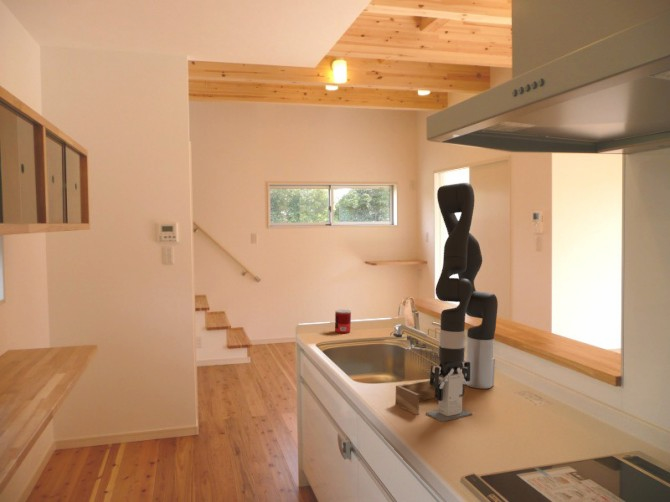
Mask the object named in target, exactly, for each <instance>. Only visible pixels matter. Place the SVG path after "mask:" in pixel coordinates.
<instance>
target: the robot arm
mask: <svg viewBox="0 0 670 502" xmlns="http://www.w3.org/2000/svg"><path fill="white" fill-rule="evenodd" d="M436 196H437V198H436V199H437V204H438V207H439V210H440V214H441V216H442V219H443V223H444V225H445V228H446V229H445V230H446V231H447V235H448V237H447V238H446V240H445V243H444V246H443V261H442V262H443V263H442V269H441V273H440V276H439V278H438V281H437V283H436V287H435V295H436V298H437V299H438V300H439V301H441V302H452V303H457V302H458V305H457V306H456V307H452V308H446V309H443V310H441V313H440V330H439V337H438V360H439V365H434V364H433V365H431V366H430V375H429V380H430V385H431V386H434V387H435V400H437V401H438V402H439V401H442V400H443V389H442V388H443V386H444V384H445V383H446V382H447V381H448V379H449V376H451V375H453V374H463V390H462V397H464V394H465V387H466V386H468V387H470V388H474V389H481V390H482V389H490V388H492V387H493V386H494V385H495V368H496V367H495V366H496V359H495V358H494V351H495V350H494V348H495V347H494V345H495V343H494V342H495V334H496V328H497V315H498V305H499V303H498V297H497V296H496V295H495V294H494V293H493V292H492V293H490V292H484V291H477V290H476V288H475V287H476V286H475V280H476V277H477V275H478V273H479V272H480V270H481V267H482V264H483V255H482V251H481V247H480V243H479V241H478V240H477V238H476V237H475V236H474V235H473V234H472V233H471V232H470V231H471V226H472V220H473V214H474V209H475V192H474V188H473V186H472V184H470V183H469V182H460V183H453V184H446V185H441V186H440V187H438V189H437V193H436ZM457 213H460V216H459V220H458V218H457V215H456V214H457ZM453 275H458V276H457V277H451V276H453ZM466 315H467V316H469V317H471V318H475V319H477V318H478V319H481V322H480V323H481V324H478V325H476V326H471V327H468V328H467V330H466V329H465V326H466V325H465V324H466ZM465 330H466V331H467V334H466V333H465ZM465 334H466V335H467V336H466V335H465ZM465 344H466V345H465ZM465 346H466V351H465ZM465 352H466V354H465ZM465 355H466V359H465ZM442 376H443V377H445V378H442ZM434 379H435V381H434ZM440 381H441V383H440ZM439 383H440V384H439Z"/></svg>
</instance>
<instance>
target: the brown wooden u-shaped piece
mask: <svg viewBox="0 0 670 502" xmlns="http://www.w3.org/2000/svg"><path fill="white" fill-rule="evenodd" d="M434 381H435V379H434ZM434 398H435V387H434V386H431V385H430V379H425V380H420V381H415V382H409V383H403V384H398V385H396V386H395V401H394V403H395V406H398V407H399V408H401V409H404V410H406V411H407V412H410V413H411V414H414V415H416V416H417V415H419V412H420V411H419V410H420V401H421V402H422V401H425V400H431V399H434ZM435 399H436V398H435Z"/></svg>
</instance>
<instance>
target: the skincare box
mask: <svg viewBox="0 0 670 502" xmlns="http://www.w3.org/2000/svg"><path fill="white" fill-rule="evenodd" d="M442 378H445V377H443V376H442ZM440 383H441V381H440ZM440 383H439V384H440ZM442 389H443V400H442V401H439V400H438V402H437V403H438V407H437V408H438V409H437V410H438V412H439V413H441V414H443V415H445V416H451V415H456V414H460V413H462V409H463V396H462V390H463V374H453V375H451V376H449V379H448V381H447V382H446V383H445V384H444V386H443V388H442Z"/></svg>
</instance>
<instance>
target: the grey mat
mask: <svg viewBox="0 0 670 502" xmlns="http://www.w3.org/2000/svg"><path fill="white" fill-rule="evenodd" d="M425 415H427V416H428V417H431V418H433V419H435V420H437V421H438V422H439V421H440V422H441V423H443V422H448V421H451V420H452V421H453V420H456V419H460V418H464V417H469V416H472V415H473V413H472V412H470V411H468V410H465V409H464V408H462V413H460V414H456V415H451V416H445V415H443V414H441V413H439V412H438V409H436V410H435V409H434V410H432V411H427V412H425Z"/></svg>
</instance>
